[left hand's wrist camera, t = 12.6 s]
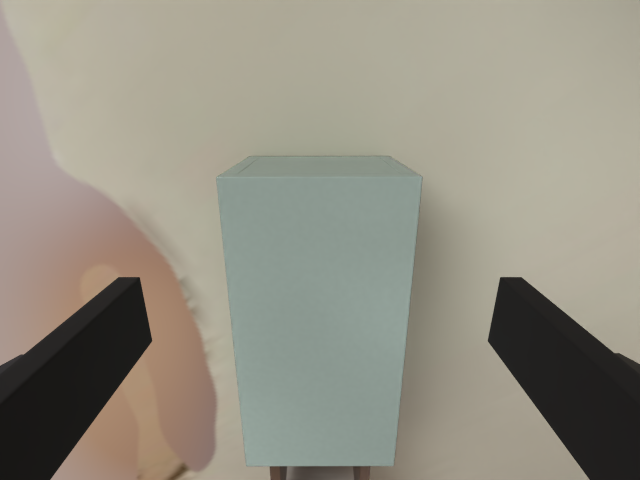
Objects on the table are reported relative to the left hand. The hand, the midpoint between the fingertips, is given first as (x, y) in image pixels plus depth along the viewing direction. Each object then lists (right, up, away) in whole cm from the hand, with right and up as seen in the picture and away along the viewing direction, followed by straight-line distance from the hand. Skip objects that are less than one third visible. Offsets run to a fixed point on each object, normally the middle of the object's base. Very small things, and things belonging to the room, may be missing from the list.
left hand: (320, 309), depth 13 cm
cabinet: (0, -1, +17) cm, 17 cm away
